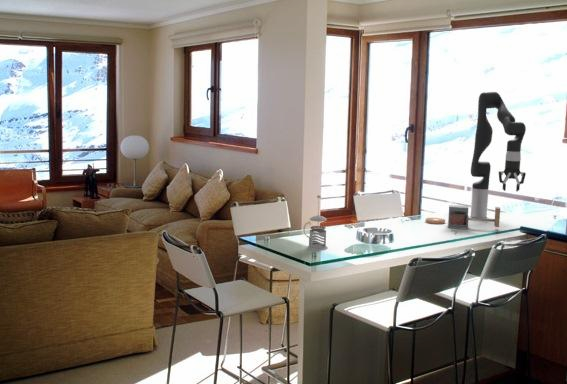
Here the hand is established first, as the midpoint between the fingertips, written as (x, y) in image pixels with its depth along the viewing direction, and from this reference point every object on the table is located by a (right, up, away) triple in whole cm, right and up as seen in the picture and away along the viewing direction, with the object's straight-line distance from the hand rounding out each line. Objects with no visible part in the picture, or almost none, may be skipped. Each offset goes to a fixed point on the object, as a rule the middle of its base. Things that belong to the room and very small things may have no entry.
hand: (510, 190), depth 357 cm
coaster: (-35, -18, +22) cm, 45 cm away
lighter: (-26, -20, +9) cm, 34 cm away
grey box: (-26, -20, +9) cm, 34 cm away
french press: (-107, -27, -45) cm, 119 cm away
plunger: (-13, -20, +6) cm, 25 cm away
